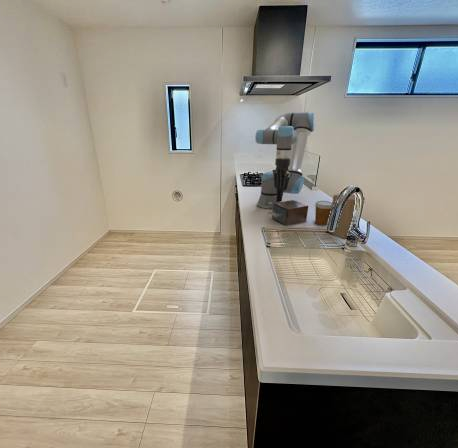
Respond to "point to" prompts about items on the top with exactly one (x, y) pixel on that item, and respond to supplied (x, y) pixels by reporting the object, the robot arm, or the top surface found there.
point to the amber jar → (322, 212)
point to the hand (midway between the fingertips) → (279, 201)
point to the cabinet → (294, 211)
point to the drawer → (279, 214)
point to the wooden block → (344, 216)
